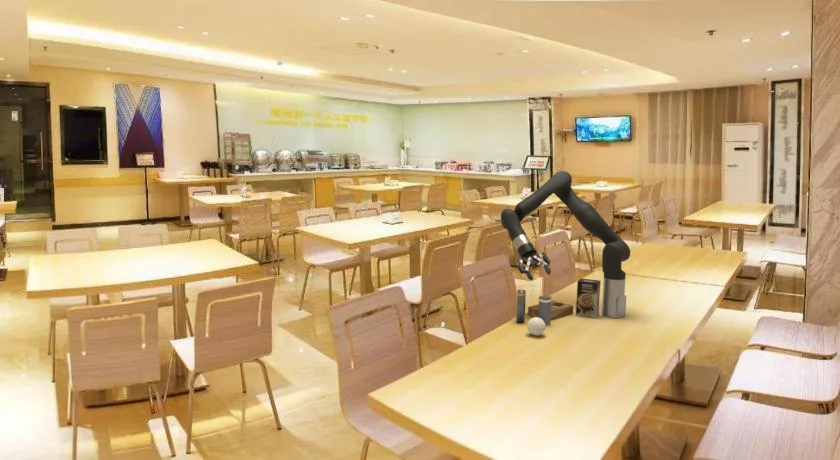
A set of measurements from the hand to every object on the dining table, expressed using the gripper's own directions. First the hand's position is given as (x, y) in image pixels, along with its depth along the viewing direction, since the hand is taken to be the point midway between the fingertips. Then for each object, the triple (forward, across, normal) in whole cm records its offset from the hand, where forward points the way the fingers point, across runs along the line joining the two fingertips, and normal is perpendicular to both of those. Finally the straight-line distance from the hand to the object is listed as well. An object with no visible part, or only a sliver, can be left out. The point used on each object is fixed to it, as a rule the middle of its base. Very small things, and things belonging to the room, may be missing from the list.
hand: (540, 276), depth 261 cm
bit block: (+11, -4, -17) cm, 21 cm away
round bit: (+13, +14, -10) cm, 22 cm away
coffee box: (+18, -18, -16) cm, 30 cm away
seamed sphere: (+26, +14, +2) cm, 30 cm away
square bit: (+18, +6, -8) cm, 20 cm away
